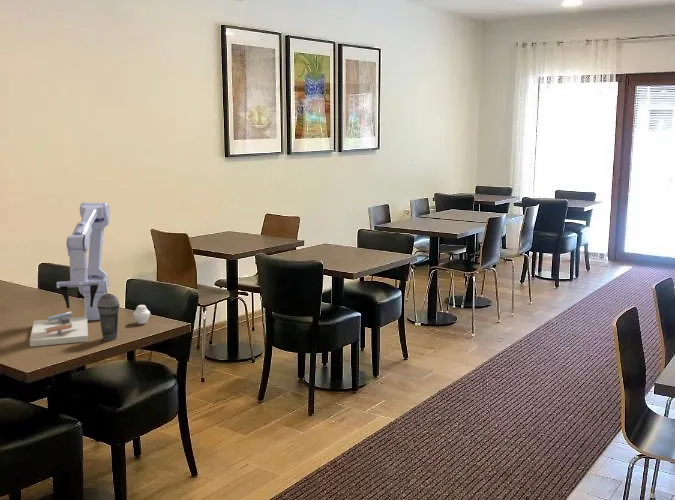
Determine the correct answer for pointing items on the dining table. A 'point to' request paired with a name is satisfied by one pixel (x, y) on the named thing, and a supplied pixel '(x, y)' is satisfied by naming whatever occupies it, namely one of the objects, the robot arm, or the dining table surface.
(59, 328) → the pink plate with label
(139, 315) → the white rounded jar
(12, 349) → the dining table surface
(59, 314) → the plate
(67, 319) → the block
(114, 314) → the beverage cup
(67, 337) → the switch panel
